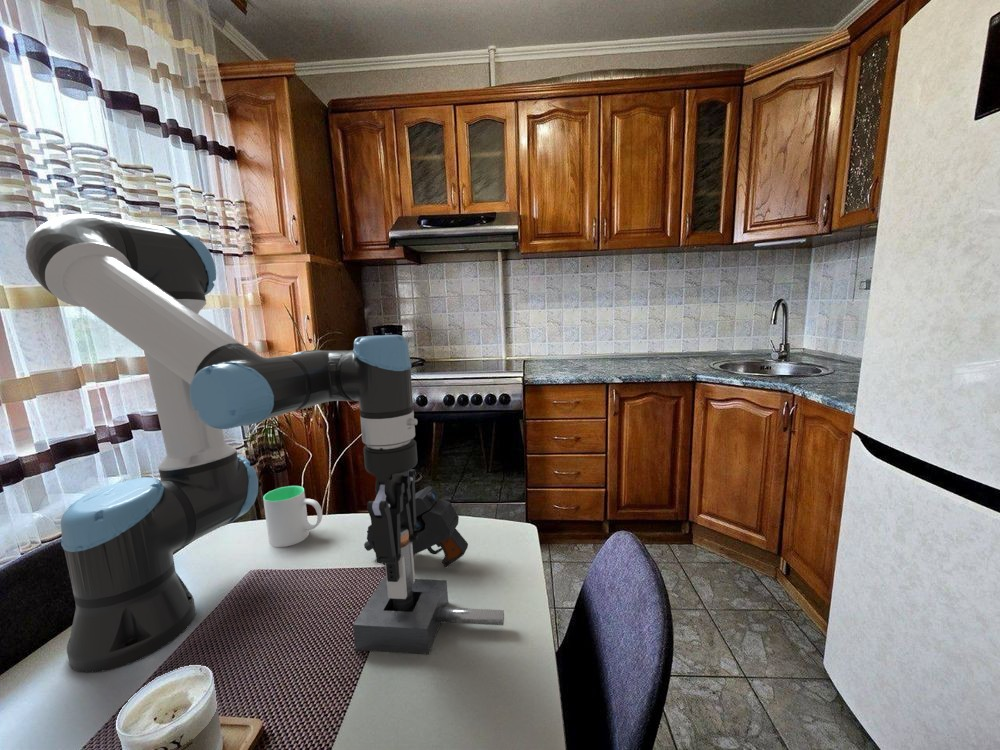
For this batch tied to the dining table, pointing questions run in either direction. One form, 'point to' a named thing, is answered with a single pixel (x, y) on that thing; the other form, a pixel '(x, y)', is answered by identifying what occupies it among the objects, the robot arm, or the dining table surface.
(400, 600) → the grey metal rod
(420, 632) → the grey holed block
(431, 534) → the toy gun
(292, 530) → the mug
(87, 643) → the robot arm
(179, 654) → the dining table surface
